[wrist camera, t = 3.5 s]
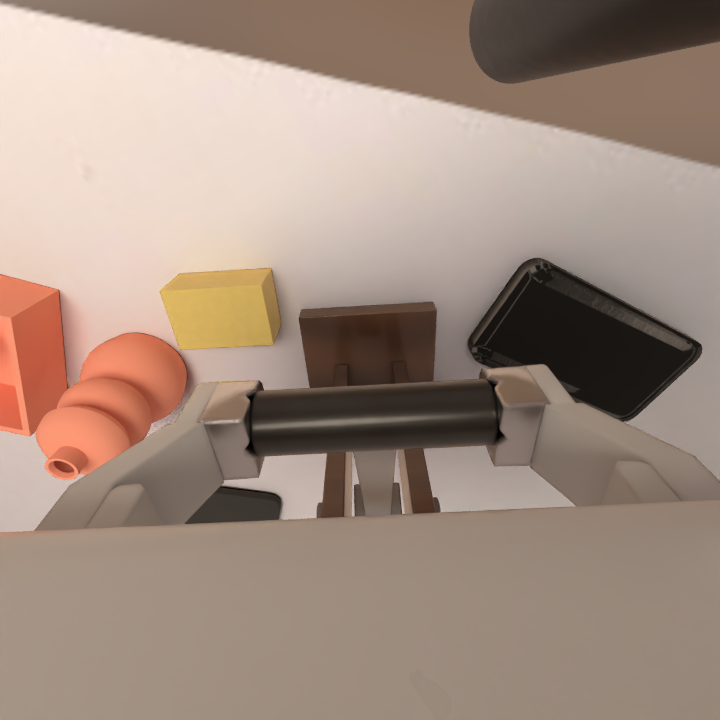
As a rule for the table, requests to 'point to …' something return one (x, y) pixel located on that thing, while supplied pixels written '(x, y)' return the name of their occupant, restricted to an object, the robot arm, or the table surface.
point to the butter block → (223, 308)
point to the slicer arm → (374, 427)
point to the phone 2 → (582, 340)
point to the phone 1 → (237, 507)
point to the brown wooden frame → (371, 381)
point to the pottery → (78, 384)
